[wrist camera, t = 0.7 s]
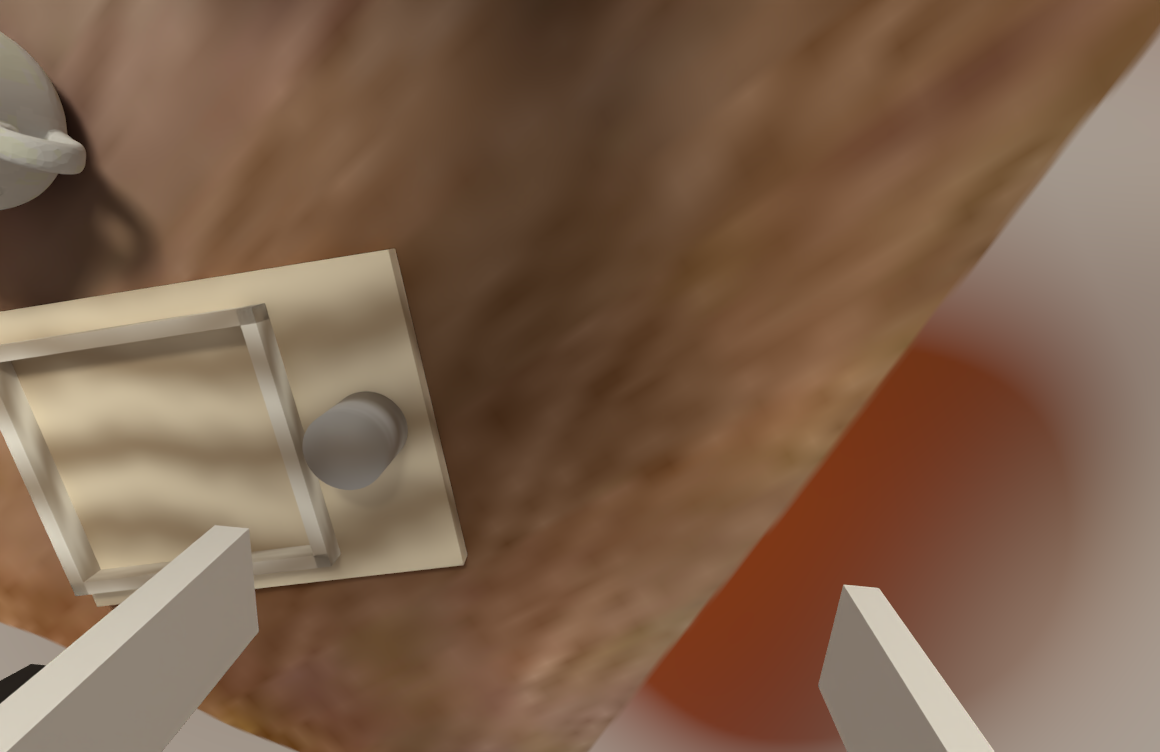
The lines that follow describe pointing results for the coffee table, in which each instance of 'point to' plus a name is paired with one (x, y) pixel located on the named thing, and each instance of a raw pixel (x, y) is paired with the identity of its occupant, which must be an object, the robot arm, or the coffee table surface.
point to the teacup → (31, 129)
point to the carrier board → (231, 426)
